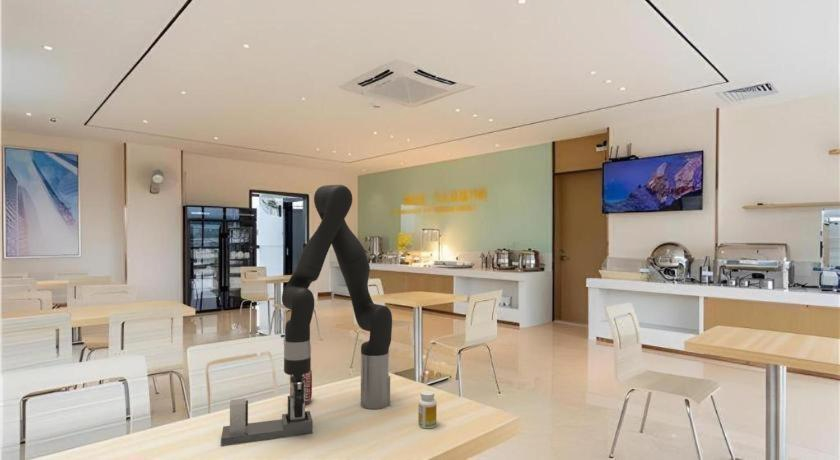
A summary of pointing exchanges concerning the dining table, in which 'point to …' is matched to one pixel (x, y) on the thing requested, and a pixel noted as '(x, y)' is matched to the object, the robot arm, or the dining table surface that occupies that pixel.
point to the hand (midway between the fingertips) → (297, 411)
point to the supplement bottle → (427, 410)
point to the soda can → (307, 386)
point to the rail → (260, 426)
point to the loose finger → (291, 409)
